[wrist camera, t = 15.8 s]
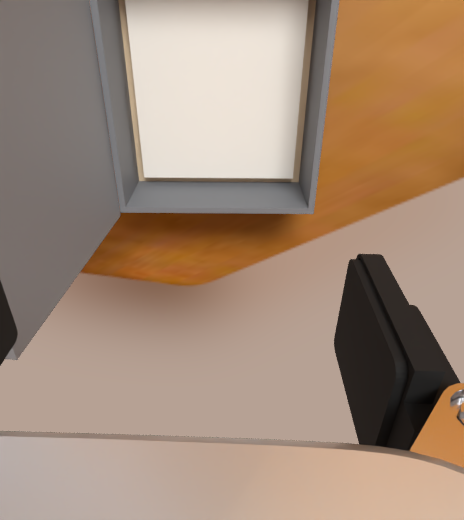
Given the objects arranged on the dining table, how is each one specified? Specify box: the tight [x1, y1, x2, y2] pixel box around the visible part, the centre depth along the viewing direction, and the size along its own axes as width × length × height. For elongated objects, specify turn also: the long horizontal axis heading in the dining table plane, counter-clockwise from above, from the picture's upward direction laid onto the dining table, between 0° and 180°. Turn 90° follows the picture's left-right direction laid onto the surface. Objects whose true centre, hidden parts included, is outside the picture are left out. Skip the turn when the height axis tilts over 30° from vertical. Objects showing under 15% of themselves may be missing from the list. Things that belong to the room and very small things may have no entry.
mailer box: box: [89, 0, 339, 214], centre depth 40 cm, size 20×24×8 cm
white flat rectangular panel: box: [125, 0, 309, 179], centre depth 43 cm, size 17×21×1 cm
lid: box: [0, 0, 121, 360], centre depth 25 cm, size 28×25×2 cm
